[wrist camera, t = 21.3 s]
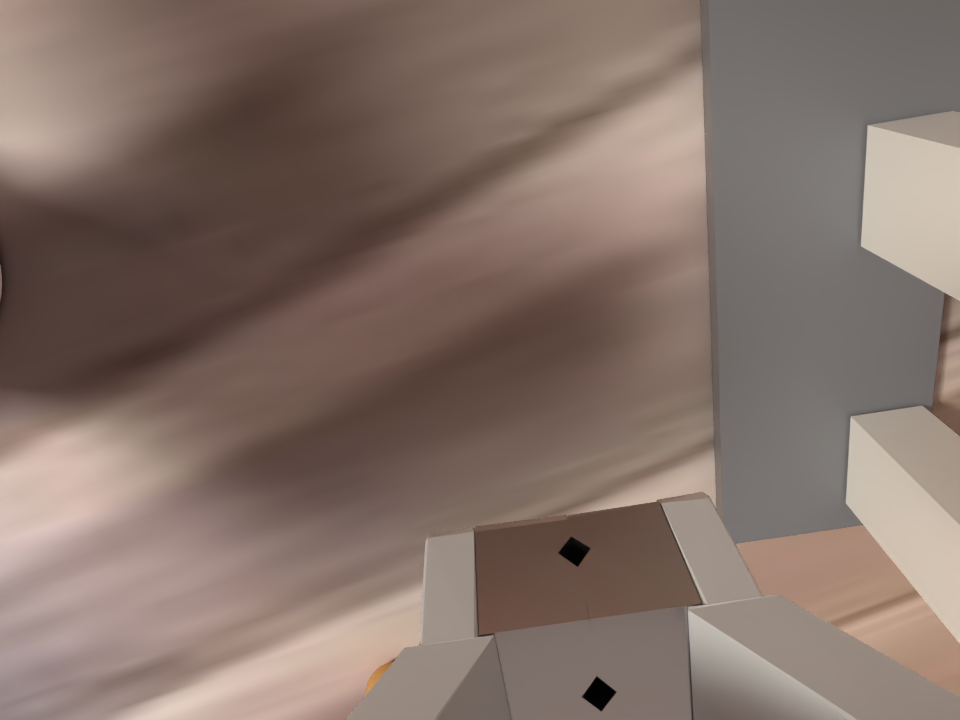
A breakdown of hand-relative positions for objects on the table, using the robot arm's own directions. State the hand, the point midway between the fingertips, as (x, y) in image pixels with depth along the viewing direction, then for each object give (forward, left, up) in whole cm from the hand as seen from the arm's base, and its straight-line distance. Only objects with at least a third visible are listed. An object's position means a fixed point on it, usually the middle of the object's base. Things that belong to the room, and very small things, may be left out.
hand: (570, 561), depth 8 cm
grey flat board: (+17, -5, -31) cm, 36 cm away
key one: (+20, -21, -30) cm, 42 cm away
